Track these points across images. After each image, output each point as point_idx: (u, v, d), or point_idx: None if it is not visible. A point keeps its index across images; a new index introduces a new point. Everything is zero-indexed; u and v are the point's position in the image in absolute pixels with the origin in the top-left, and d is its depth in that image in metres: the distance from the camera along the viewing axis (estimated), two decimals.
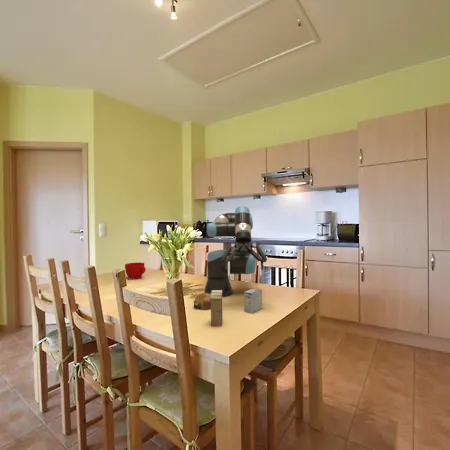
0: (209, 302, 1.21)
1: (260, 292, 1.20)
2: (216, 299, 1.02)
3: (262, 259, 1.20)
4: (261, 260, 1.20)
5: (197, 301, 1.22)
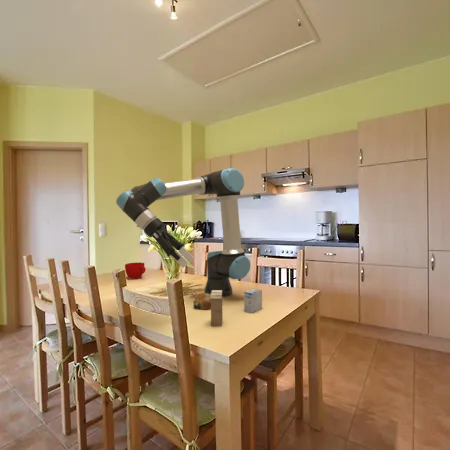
0: (209, 302, 1.21)
1: (260, 292, 1.20)
2: (216, 299, 1.02)
3: None
4: None
5: (197, 301, 1.22)
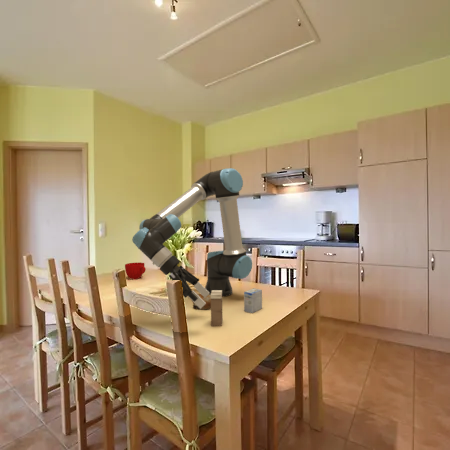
0: (208, 302, 1.21)
1: (260, 292, 1.20)
2: (216, 299, 1.02)
3: None
4: (186, 296, 0.97)
5: None
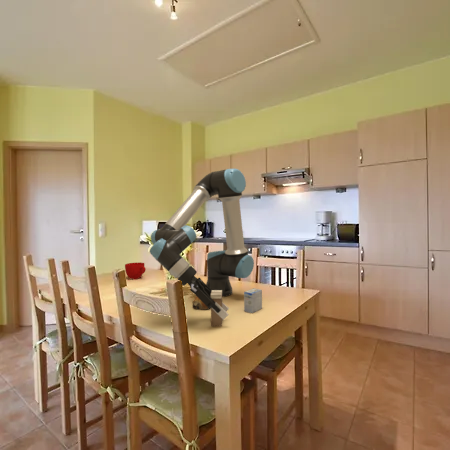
0: None
1: (260, 292, 1.20)
2: (216, 299, 1.02)
3: (208, 308, 1.01)
4: (209, 308, 1.01)
5: (196, 301, 1.22)
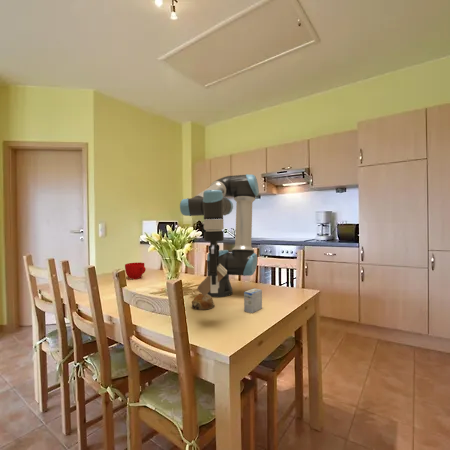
0: (207, 302, 1.21)
1: (260, 292, 1.20)
2: (219, 274, 1.02)
3: (208, 275, 1.00)
4: None
5: (195, 301, 1.22)
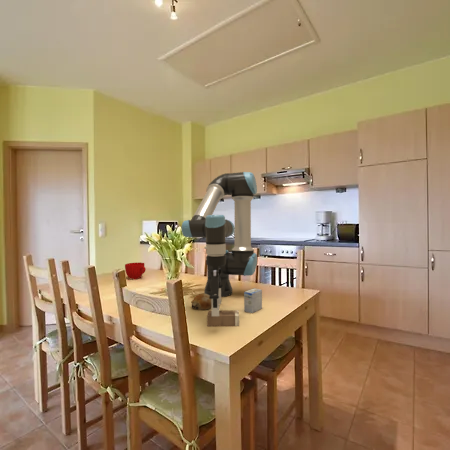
0: (207, 302, 1.21)
1: (260, 292, 1.20)
2: (233, 321, 1.02)
3: (209, 297, 0.97)
4: (210, 298, 0.97)
5: (195, 301, 1.22)
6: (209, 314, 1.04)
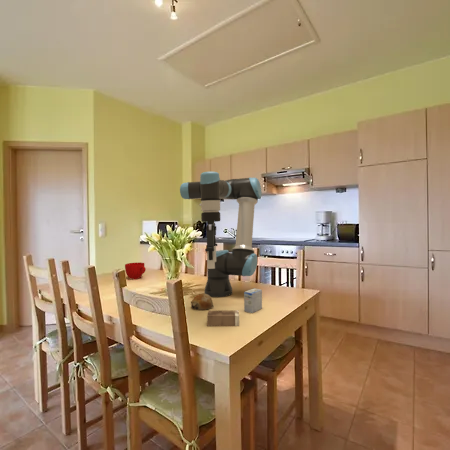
0: (207, 302, 1.21)
1: (260, 292, 1.20)
2: (233, 321, 1.02)
3: (205, 250, 1.00)
4: None
5: (195, 301, 1.22)
6: (209, 314, 1.04)
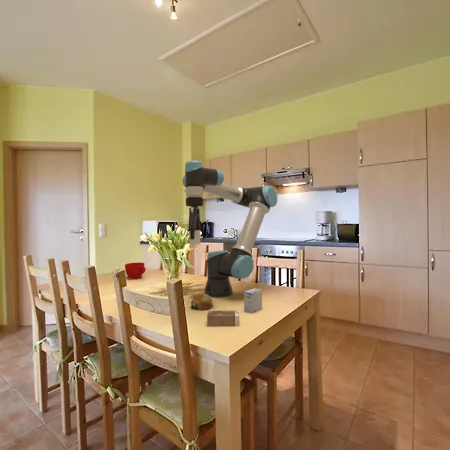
0: (206, 303, 1.21)
1: (260, 292, 1.20)
2: (233, 321, 1.02)
3: (187, 230, 1.11)
4: None
5: (194, 302, 1.22)
6: (209, 314, 1.04)
